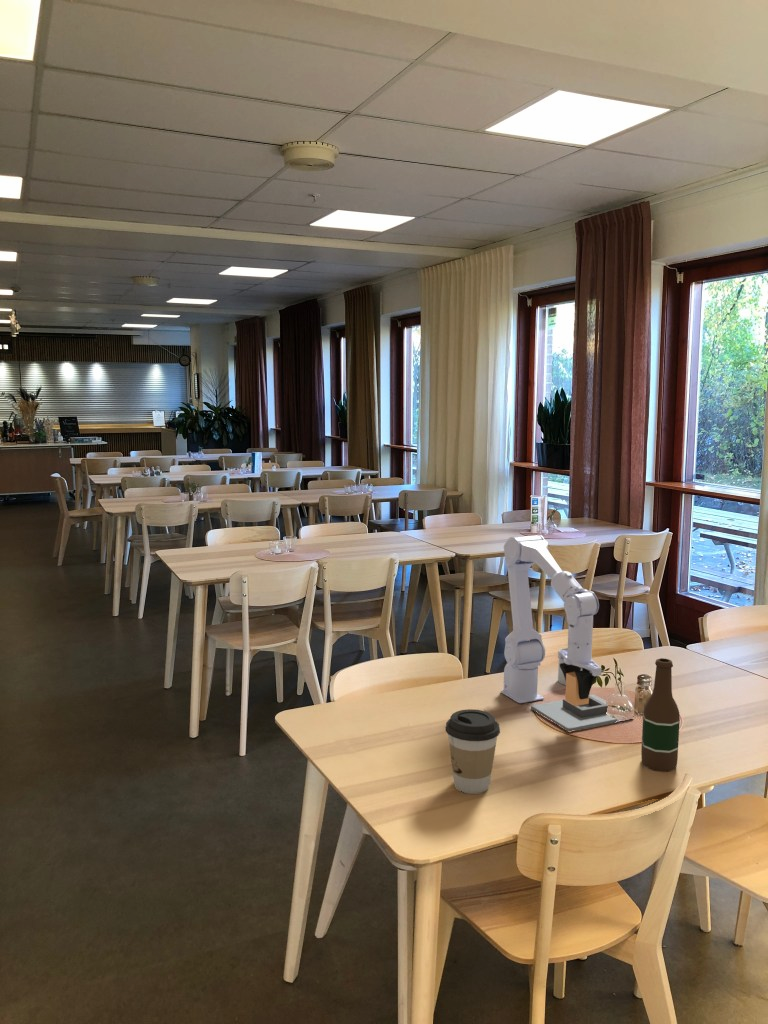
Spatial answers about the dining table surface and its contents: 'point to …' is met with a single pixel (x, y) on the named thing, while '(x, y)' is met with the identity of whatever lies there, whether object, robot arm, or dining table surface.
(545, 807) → the dining table surface
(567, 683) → the orange rectangular block
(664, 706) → the beer bottle
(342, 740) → the dining table surface
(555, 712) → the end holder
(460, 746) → the coffee cup
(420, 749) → the dining table surface
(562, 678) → the cup
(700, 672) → the dining table surface
